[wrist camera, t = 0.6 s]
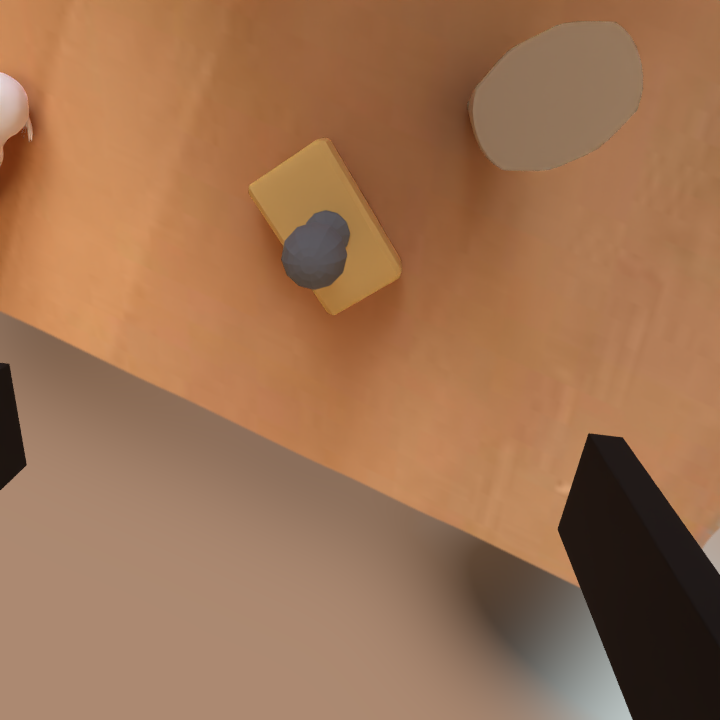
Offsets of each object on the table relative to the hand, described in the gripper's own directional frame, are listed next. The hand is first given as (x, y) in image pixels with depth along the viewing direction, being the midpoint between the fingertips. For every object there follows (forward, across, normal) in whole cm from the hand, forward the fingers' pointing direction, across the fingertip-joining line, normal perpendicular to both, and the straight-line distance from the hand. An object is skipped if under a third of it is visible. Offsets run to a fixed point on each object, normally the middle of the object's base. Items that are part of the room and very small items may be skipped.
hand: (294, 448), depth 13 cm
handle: (+28, +8, +8) cm, 31 cm away
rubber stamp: (+28, -2, 0) cm, 28 cm away
